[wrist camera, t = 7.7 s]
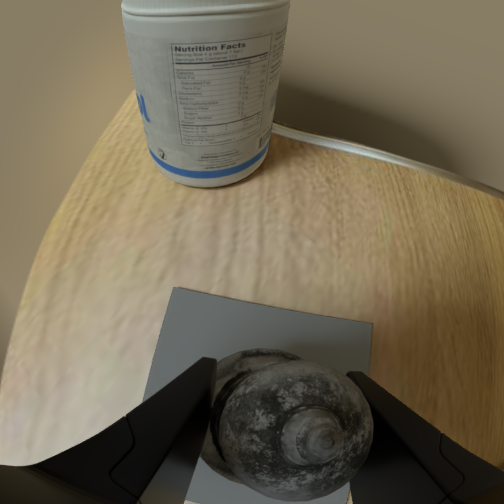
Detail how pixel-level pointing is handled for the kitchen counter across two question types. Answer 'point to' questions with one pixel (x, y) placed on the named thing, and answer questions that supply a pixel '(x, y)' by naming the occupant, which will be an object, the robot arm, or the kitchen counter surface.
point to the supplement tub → (206, 83)
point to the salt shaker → (286, 425)
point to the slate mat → (245, 338)
